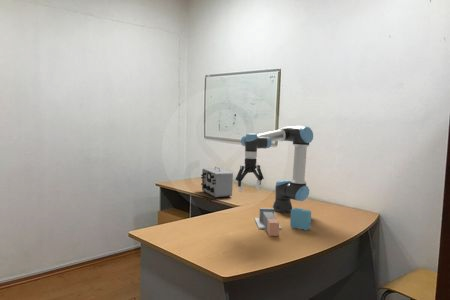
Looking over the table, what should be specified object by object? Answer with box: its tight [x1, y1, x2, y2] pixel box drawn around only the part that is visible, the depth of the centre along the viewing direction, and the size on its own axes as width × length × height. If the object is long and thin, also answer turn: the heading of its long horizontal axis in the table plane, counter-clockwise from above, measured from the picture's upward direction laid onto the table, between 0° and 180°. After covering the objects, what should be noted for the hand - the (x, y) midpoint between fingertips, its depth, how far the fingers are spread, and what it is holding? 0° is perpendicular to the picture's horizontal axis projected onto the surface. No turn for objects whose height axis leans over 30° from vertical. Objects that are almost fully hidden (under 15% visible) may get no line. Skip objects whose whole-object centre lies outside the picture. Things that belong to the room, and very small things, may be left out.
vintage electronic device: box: [200, 166, 234, 199], centre depth 301 cm, size 32×18×25 cm, turn 25°
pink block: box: [266, 218, 280, 237], centre depth 199 cm, size 6×8×8 cm
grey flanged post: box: [254, 207, 282, 232], centre depth 215 cm, size 14×24×10 cm, turn 3°
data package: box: [289, 207, 312, 231], centre depth 211 cm, size 12×4×12 cm, turn 58°
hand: (249, 190), depth 212 cm, fingers open, 13 cm apart
